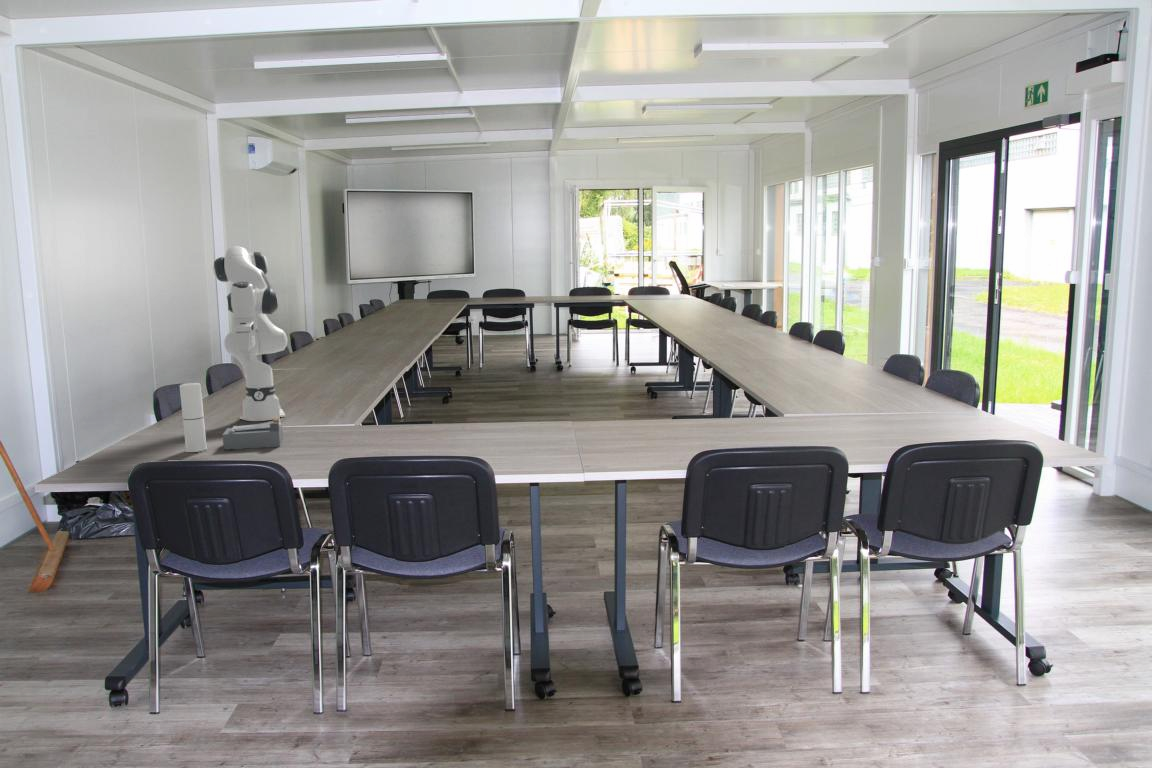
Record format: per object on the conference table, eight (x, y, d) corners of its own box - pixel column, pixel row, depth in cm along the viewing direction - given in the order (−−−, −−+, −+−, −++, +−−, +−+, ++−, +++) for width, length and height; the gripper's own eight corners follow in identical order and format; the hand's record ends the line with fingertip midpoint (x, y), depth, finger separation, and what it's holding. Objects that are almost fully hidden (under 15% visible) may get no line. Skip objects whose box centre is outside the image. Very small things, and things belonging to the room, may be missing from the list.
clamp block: (228, 443, 333) (226, 420, 331) (283, 439, 337) (281, 417, 335) (223, 450, 322) (221, 426, 321) (280, 446, 326) (278, 423, 325)
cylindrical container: (188, 454, 318) (181, 387, 313) (184, 450, 323) (177, 384, 319) (208, 450, 322) (202, 384, 317) (204, 447, 327) (198, 382, 323)
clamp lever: (234, 429, 329) (233, 422, 328) (280, 424, 332) (279, 417, 332) (232, 431, 325) (231, 424, 325) (279, 426, 329) (278, 419, 328)
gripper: (240, 322, 340) (243, 357, 343) (232, 328, 321) (235, 364, 323) (257, 321, 342) (260, 356, 344) (250, 327, 322) (253, 364, 324)
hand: (248, 360), depth 333 cm, fingers closed
